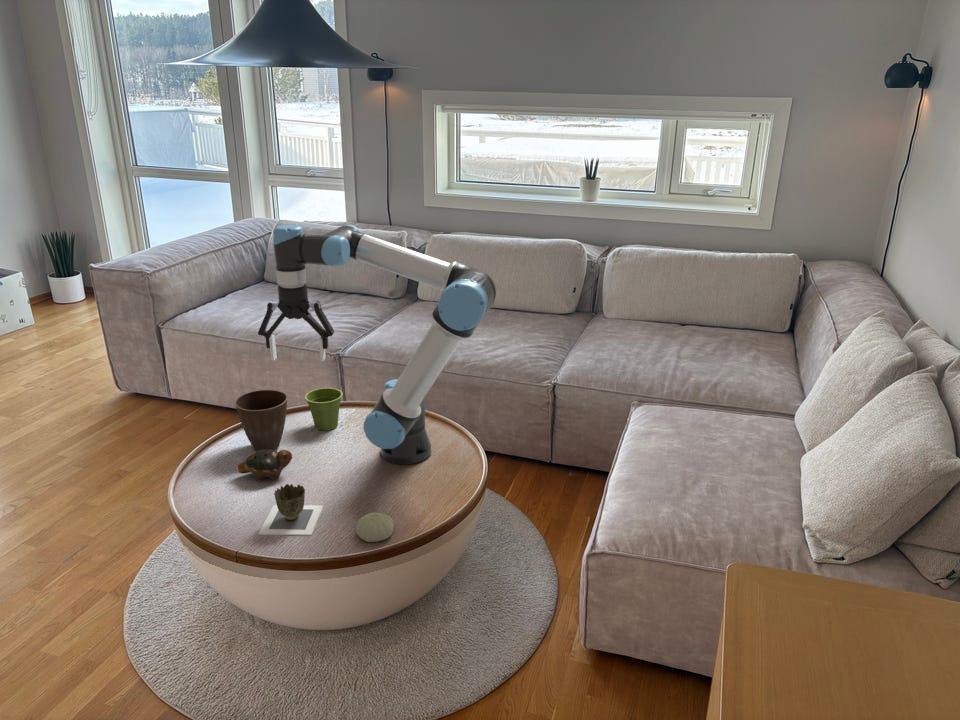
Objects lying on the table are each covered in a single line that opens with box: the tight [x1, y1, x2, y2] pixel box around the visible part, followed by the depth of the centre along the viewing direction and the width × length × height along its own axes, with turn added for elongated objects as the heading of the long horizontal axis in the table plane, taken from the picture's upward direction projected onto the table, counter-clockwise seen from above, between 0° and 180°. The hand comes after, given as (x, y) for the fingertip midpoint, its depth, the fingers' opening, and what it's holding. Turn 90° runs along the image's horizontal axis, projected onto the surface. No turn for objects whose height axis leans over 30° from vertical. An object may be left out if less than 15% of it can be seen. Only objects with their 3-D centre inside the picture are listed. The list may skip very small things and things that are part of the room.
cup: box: [273, 483, 306, 521], centre depth 180 cm, size 8×7×8 cm
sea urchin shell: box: [354, 512, 395, 543], centre depth 175 cm, size 9×8×8 cm
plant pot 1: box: [234, 389, 288, 452], centre depth 215 cm, size 15×15×16 cm
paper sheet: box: [258, 504, 324, 536], centre depth 181 cm, size 13×13×1 cm
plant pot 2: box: [304, 387, 344, 432], centre depth 230 cm, size 12×12×11 cm
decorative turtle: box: [237, 449, 293, 482], centre depth 201 cm, size 10×15×8 cm, turn 103°
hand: (298, 359), depth 197 cm, fingers open, 13 cm apart
